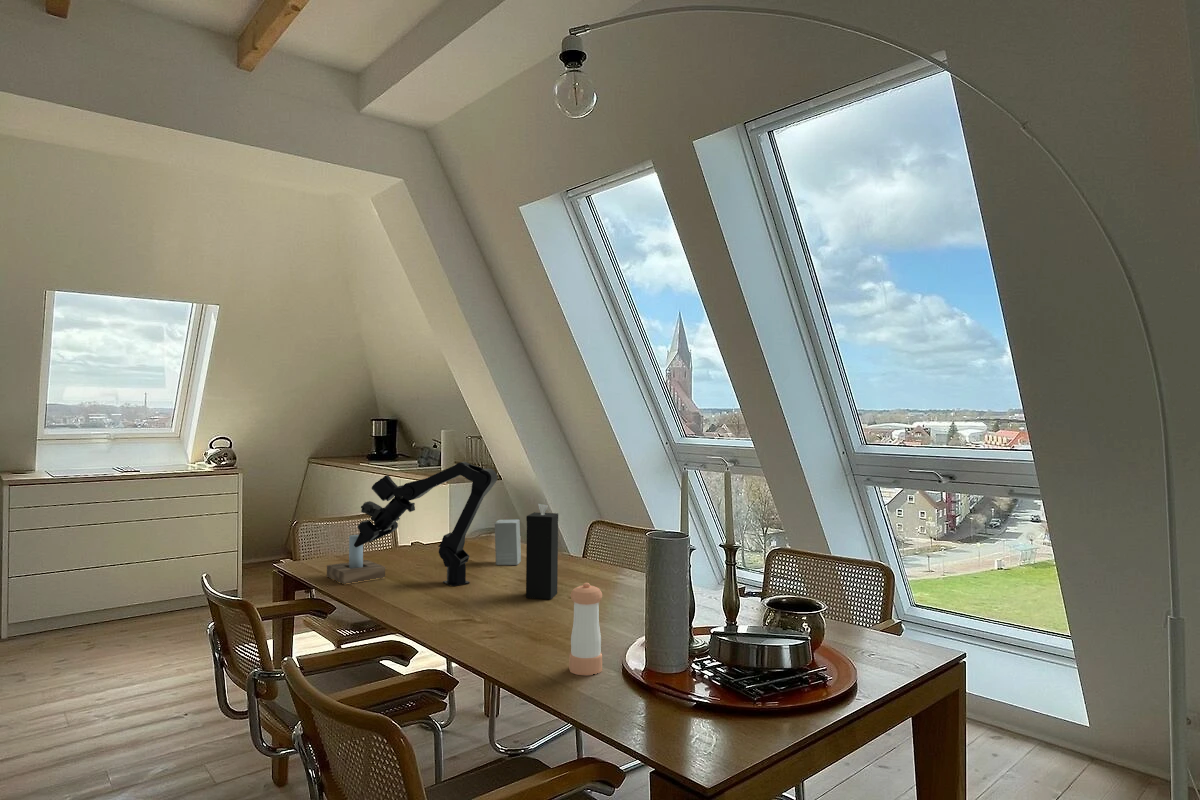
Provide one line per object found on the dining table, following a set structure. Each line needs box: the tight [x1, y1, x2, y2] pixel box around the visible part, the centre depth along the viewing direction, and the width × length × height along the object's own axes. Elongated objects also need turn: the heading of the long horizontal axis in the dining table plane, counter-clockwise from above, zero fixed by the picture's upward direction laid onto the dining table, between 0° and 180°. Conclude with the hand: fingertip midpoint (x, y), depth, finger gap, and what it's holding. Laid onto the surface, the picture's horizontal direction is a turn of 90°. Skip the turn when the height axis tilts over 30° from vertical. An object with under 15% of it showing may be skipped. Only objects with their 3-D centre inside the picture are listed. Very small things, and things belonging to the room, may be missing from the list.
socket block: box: [326, 559, 386, 584], centre depth 256 cm, size 14×14×4 cm
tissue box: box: [525, 503, 559, 600], centre depth 236 cm, size 8×8×28 cm
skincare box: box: [494, 519, 522, 566], centre depth 281 cm, size 8×7×16 cm
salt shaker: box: [568, 582, 603, 676], centre depth 171 cm, size 7×7×19 cm
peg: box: [348, 534, 364, 569], centre depth 256 cm, size 4×4×14 cm
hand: (361, 543), depth 256 cm, fingers open, 9 cm apart
